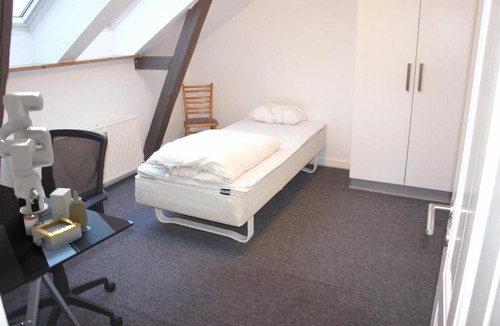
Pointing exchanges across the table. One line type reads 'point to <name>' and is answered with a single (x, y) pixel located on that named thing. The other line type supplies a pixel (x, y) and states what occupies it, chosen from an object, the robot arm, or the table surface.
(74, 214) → the squeeze bottle
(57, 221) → the box
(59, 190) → the skincare box
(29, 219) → the spout can
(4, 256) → the table surface
